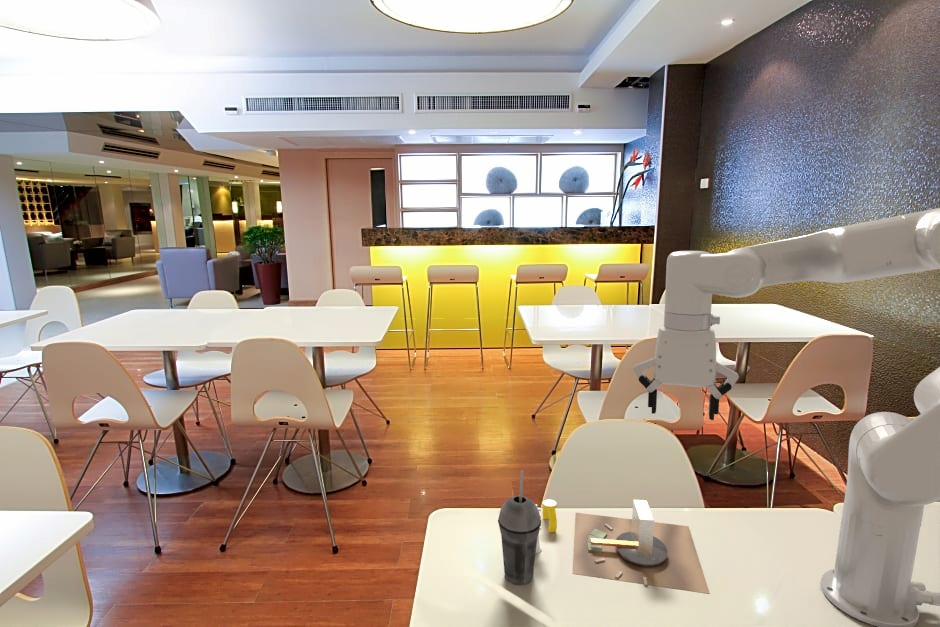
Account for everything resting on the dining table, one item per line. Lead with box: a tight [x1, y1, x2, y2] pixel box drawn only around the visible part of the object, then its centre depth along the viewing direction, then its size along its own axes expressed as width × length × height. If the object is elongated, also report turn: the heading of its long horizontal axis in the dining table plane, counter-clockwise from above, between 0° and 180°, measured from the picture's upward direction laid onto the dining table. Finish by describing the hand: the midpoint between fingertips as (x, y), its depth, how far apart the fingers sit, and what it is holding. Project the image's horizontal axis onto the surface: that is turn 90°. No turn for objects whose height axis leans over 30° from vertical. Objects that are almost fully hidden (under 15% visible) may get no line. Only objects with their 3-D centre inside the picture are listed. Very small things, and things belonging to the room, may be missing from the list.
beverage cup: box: [497, 470, 542, 586], centre depth 86 cm, size 7×7×20 cm
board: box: [572, 512, 711, 595], centre depth 95 cm, size 22×19×2 cm
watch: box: [542, 498, 558, 533], centre depth 102 cm, size 6×3×6 cm, turn 6°
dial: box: [591, 499, 667, 567], centre depth 93 cm, size 14×9×8 cm, turn 82°
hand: (681, 414), depth 93 cm, fingers open, 9 cm apart
